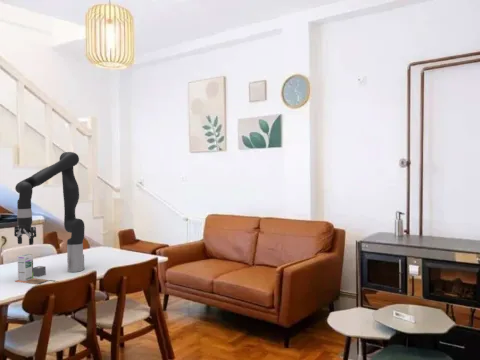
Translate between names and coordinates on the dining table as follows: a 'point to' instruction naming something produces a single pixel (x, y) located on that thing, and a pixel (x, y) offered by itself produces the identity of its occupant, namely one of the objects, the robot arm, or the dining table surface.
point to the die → (39, 271)
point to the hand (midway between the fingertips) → (25, 244)
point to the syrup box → (25, 267)
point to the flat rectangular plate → (35, 281)
